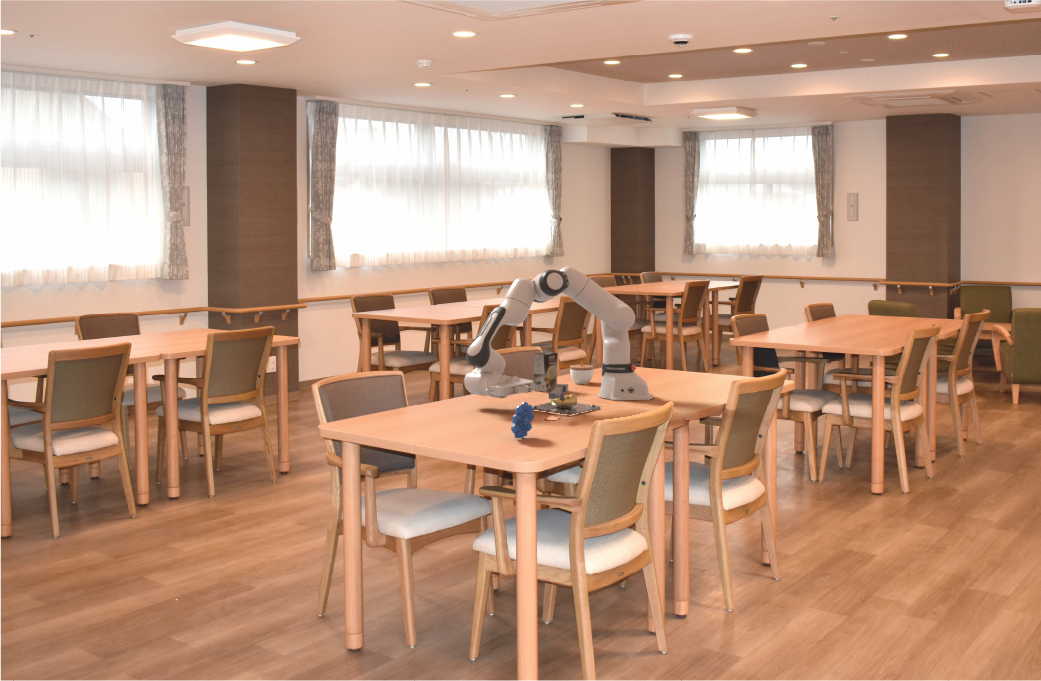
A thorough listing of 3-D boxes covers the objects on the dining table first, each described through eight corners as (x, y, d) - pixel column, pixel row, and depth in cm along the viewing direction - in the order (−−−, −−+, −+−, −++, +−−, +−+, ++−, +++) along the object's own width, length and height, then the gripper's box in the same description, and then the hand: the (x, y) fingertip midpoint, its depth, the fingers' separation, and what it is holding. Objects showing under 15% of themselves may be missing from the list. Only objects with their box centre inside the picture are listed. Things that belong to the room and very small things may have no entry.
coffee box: (545, 392, 410) (545, 354, 408) (533, 390, 414) (533, 353, 412) (557, 389, 418) (557, 352, 416) (545, 388, 421) (545, 351, 419)
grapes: (521, 433, 326) (521, 398, 324) (538, 436, 322) (538, 400, 320) (501, 439, 316) (501, 403, 315) (519, 442, 312) (519, 405, 311)
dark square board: (557, 403, 384) (558, 398, 384) (600, 408, 372) (600, 403, 372) (527, 410, 368) (527, 405, 368) (570, 416, 356) (570, 411, 356)
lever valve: (553, 400, 376) (553, 380, 375) (579, 401, 374) (579, 381, 373) (538, 413, 349) (538, 392, 348) (565, 415, 347) (565, 393, 346)
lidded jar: (567, 384, 432) (567, 363, 431) (572, 380, 442) (573, 360, 441) (590, 385, 428) (590, 364, 427) (595, 382, 439) (596, 361, 438)
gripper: (482, 381, 358) (512, 385, 349) (516, 375, 374) (545, 378, 365) (482, 398, 358) (512, 402, 350) (516, 391, 374) (545, 395, 366)
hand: (529, 390), depth 358 cm, fingers closed
